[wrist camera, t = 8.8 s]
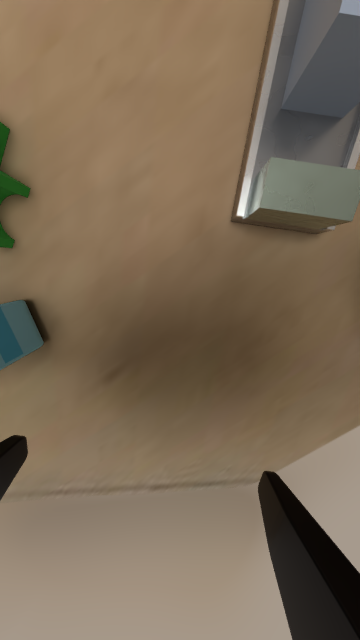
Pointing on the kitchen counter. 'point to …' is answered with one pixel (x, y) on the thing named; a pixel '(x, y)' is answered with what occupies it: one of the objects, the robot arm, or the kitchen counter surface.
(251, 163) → the rail
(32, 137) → the kitchen counter surface
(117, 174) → the kitchen counter surface
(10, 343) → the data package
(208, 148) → the kitchen counter surface
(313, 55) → the block
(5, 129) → the pipe clamp
